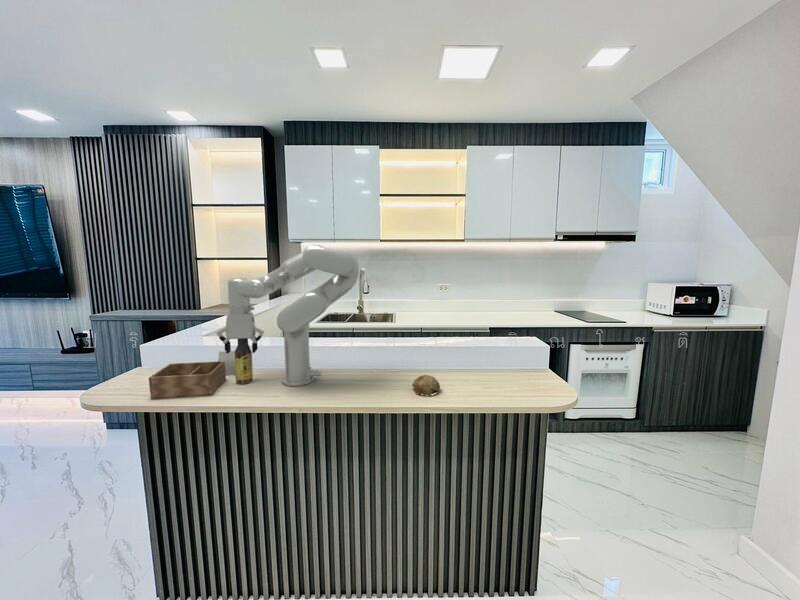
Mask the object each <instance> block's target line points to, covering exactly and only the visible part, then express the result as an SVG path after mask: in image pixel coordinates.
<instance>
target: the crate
mask: <svg viewBox="0 0 800 600" xmlns="http://www.w3.org/2000/svg"><path fill="white" fill-rule="evenodd" d="M226 377H227V376H226V373H225V361H218V360H217V361H200V362H175V363H174V362H173V363H169V364H167V365H165V366H164V367H162V368H161V369H160V370H158V371H156V373H154V374H152V375H151V376H149V377H148V384H149V393H150V394H149V395H150V400H161V399H163V400H165V399H178V398H180V399H181V398H193V397H194V398H199V397H209V396H210V397H212V396H213V395H215V393H216V392H217V391H218V390H219V389H220V387H221V386H222V385H223V384H224V383H225V382H226V381H225V380H227V378H226ZM224 381H225V382H224ZM217 389H218V390H217Z"/></svg>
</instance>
